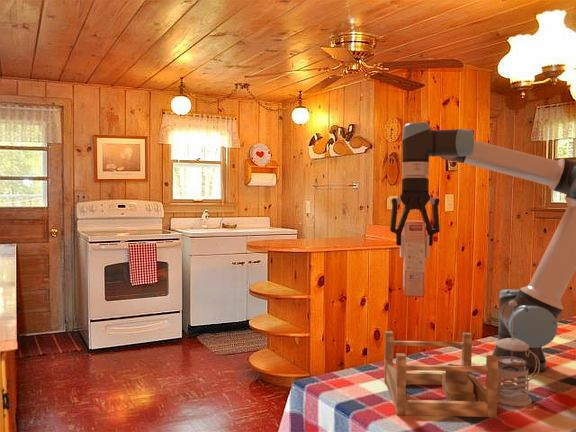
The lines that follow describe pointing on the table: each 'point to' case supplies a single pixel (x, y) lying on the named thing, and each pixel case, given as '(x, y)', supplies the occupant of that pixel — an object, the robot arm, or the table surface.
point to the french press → (513, 372)
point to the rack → (439, 381)
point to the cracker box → (414, 258)
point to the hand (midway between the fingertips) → (414, 256)
